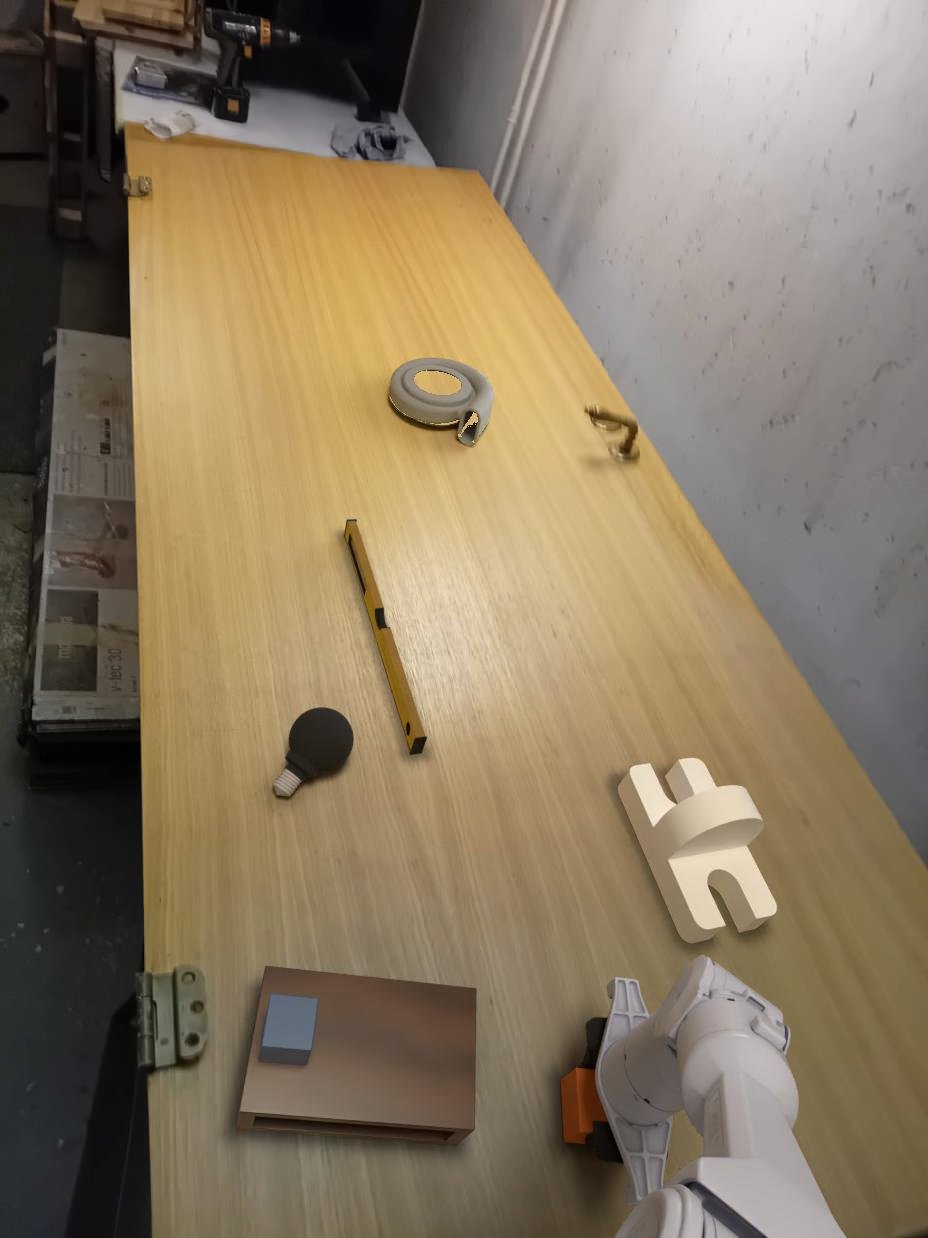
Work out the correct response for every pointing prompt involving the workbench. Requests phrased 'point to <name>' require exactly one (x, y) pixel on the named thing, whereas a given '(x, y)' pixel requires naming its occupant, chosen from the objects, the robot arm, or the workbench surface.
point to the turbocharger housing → (444, 396)
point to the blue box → (289, 1029)
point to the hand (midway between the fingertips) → (594, 1108)
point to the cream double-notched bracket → (699, 847)
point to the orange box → (580, 1105)
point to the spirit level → (385, 640)
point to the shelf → (368, 1061)
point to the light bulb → (315, 747)
